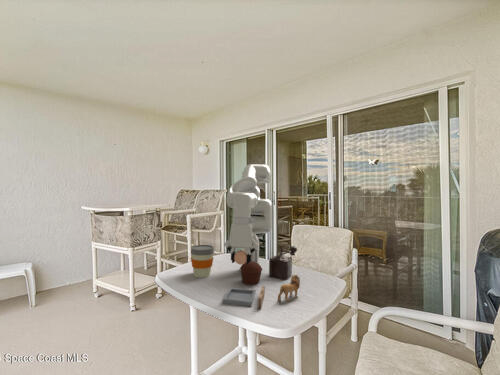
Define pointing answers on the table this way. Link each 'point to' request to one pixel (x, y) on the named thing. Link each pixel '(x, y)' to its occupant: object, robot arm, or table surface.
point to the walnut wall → (261, 297)
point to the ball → (240, 257)
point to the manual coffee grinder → (281, 264)
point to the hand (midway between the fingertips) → (240, 262)
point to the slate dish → (239, 297)
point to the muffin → (251, 273)
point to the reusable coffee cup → (202, 260)
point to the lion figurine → (290, 288)
